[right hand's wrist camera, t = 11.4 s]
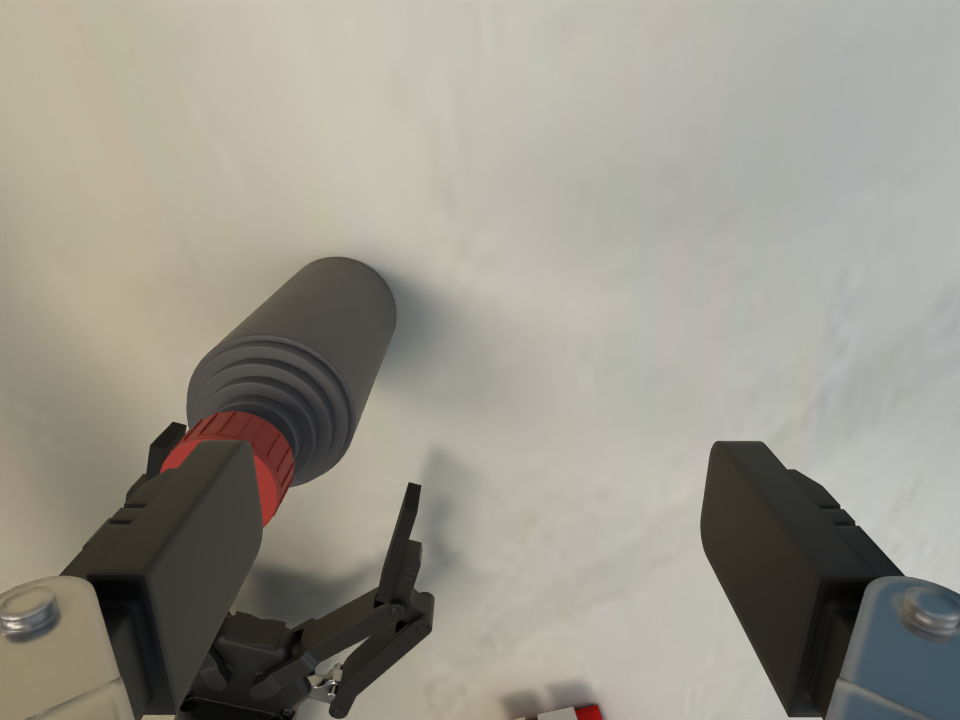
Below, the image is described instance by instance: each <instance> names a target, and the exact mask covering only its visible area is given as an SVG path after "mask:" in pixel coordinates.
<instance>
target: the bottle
mask: <svg viewBox="0 0 960 720" xmlns="http://www.w3.org/2000/svg"><path fill="white" fill-rule="evenodd" d="M395 324H396V306H395V301H394V298H393V295H392V293H391V291H390V289H389V287H388V286H387V284H386V282H385V281H384V280H383V279H382V278H381V277H380V276H379V275H378V274H377V273H376V272H375V271H374V270H372V269H371V268H370V267H368V266H366V265H365V264H363V263H361V262H358V261H356V260H352V259H348V258H342V257H330V258H324V259H320V260H317V261H314V262H312V263H310V264H308V265H307V266H305V267H304V268H303V269H301V270H300V271H299V272H298V273H297V274H296V275H294V276H293V277H292V278H291V279H290V280H289V281H288V282H287V283H286V284H284V285H283V286H282V287H281V288H280V289H279V290H278V291H277V292H275V293H274V294H273V295H272V296H271V297H270V298H269V299H268V300H267V301H265V302H264V303H263V304H262V305H261V306H260V307H259V308H258V309H257V310H255V311H254V312H253V313H252V314H251V315H250V316H249V317H248V318H247V319H245V320H244V321H243V322H242V323H241V324H240V325H239V326H238V327H237V328H235V329H234V330H233V331H232V332H231V333H230V334H229V335H228V336H227V337H225V338H224V339H223V340H222V341H221V342H220V343H219V344H218V345H216V346H215V347H214V348H213V349H212V350H211V351H210V352H209V353H208V354H207V355H206V356H205V357H204V358H203V359H202V360H201V361H200V363H199V364H198V366H197V367H196V369H195V371H194V373H193V375H192V377H191V380H190V383H189V387H188V394H187V405H186V406H187V420H188V425H189V428H190V429H192V428H193V427H194V426H195V425H196V424H197V422H198V421H199V420H200V419H205V418H207V417H208V416H211V415H214V413H216V412H217V413H221V412H229V411H237V412H245V413H249V414H253V415H256V416H258V417H260V418H262V419H264V420H266V421H268V422H270V424H272V425H273V426H275V427H276V428H277V429H278V430H279V431H280V432H281V433H282V434H283V436H284V437H285V439H286V440H287V442H288V444H289V446H290V447H291V448H292V450H291V451H292V455H293V460H294V462H295V466H294V471H293V476H292V477H294V478H293V480H292V482H291V484H290V486H289V488H290V487H294V486H298V485H301V484H304V483H307V482H309V481H311V480H313V479H315V478H317V477H319V476H321V475H322V474H324V473H326V472H327V471H329V470H330V469H331V468H333V467H334V466H335V465H336V464H337V463H338V462H339V461H340V460H341V458H342V457H343V456H344V455H345V453H346V451H347V450H348V448H349V446H350V444H351V441H352V438H353V436H354V433H355V431H356V428H357V425H358V423H359V420H360V418H361V415H362V412H363V410H364V407H365V405H366V402H367V399H368V397H369V394H370V392H371V389H372V386H373V384H374V381H375V379H376V376H377V373H378V371H379V368H380V366H381V363H382V360H383V358H384V355H385V352H386V350H387V347H388V345H389V342H390V339H391V337H392V334H393V332H394V328H395Z"/></svg>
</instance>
